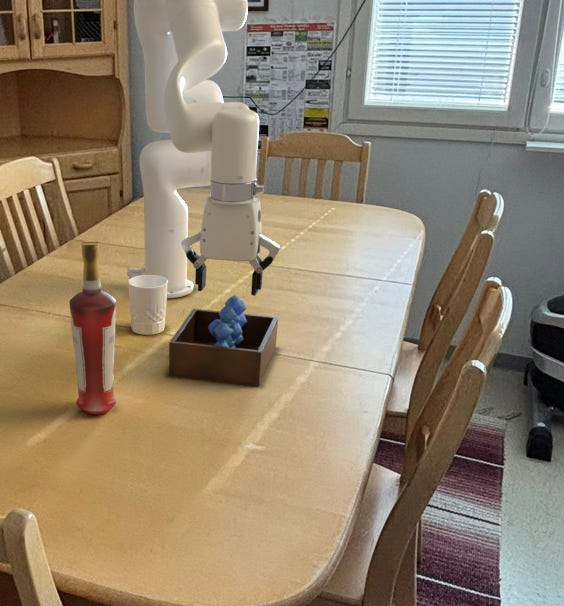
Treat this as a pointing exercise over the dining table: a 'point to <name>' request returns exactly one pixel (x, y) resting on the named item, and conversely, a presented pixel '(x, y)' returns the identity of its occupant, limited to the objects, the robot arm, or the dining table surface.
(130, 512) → the dining table surface
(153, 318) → the white cup
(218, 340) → the grapes
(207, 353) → the brown wooden box
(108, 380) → the liquor
